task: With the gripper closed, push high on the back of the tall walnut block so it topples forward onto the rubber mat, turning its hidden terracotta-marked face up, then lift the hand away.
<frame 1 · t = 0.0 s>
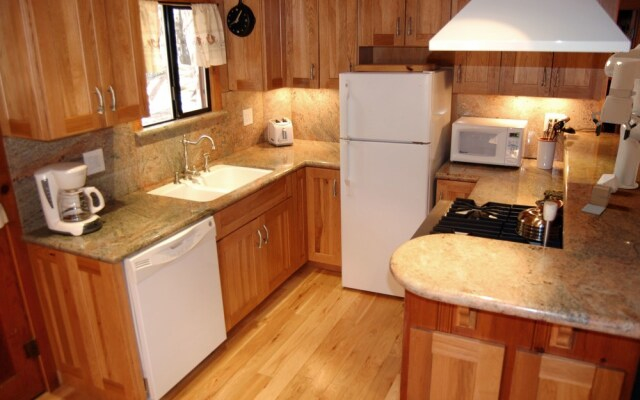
hand: (611, 137, 199), 31 cm above the countertop, tool pointing down, fingers open, 9 cm apart
die: (607, 192, 233), on the countertop
block: (599, 204, 218), on the countertop
mat: (593, 209, 212), on the countertop
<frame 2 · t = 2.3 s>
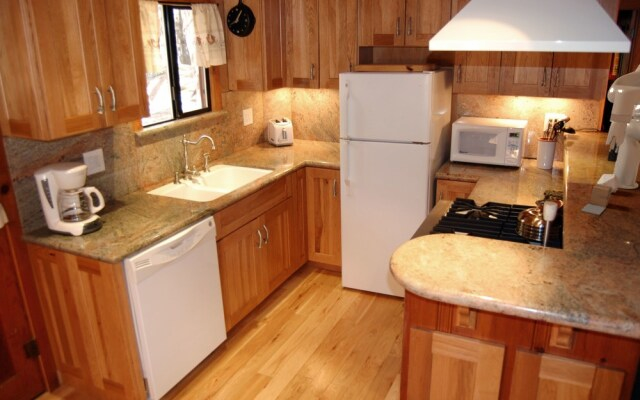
hand: (611, 161, 218), 17 cm above the countertop, tool pointing down, fingers closed
nothing on the countertop moved.
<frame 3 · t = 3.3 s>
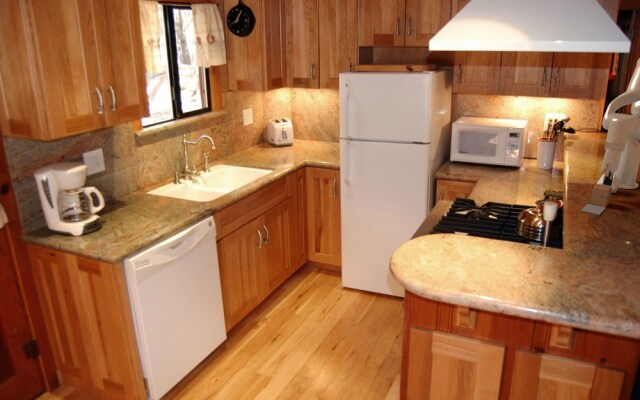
hand: (606, 187, 222), 6 cm above the countertop, tool pointing down, fingers closed
nothing on the countertop moved.
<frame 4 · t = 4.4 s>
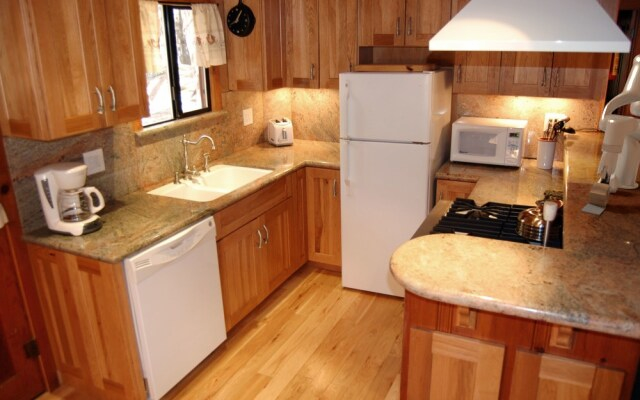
hand: (603, 189, 218), 6 cm above the countertop, tool pointing down, fingers closed
block: (599, 200, 217), point 2 cm above the countertop, tilted 33°
everything else where it was.
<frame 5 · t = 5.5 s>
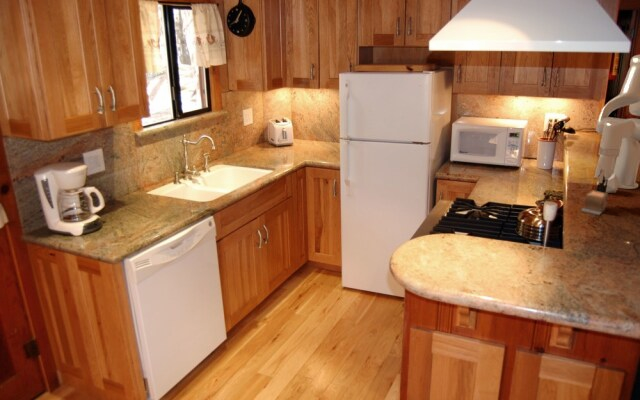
hand: (600, 193, 216), 5 cm above the countertop, tool pointing down, fingers closed
block: (598, 198, 215), point 3 cm above the countertop, tilted 90°, touching mat
everything else where it was.
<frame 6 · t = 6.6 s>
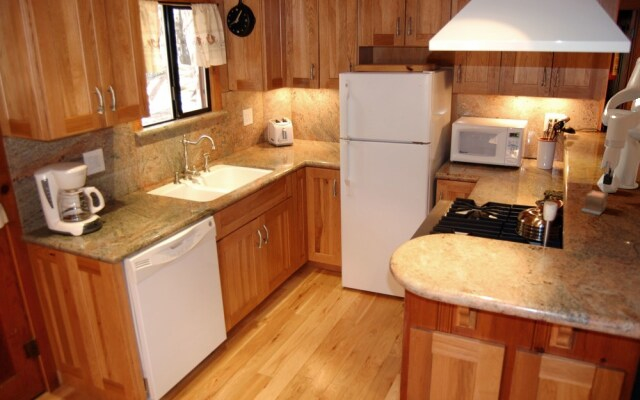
hand: (607, 183, 221), 7 cm above the countertop, tool pointing down, fingers closed
nothing on the countertop moved.
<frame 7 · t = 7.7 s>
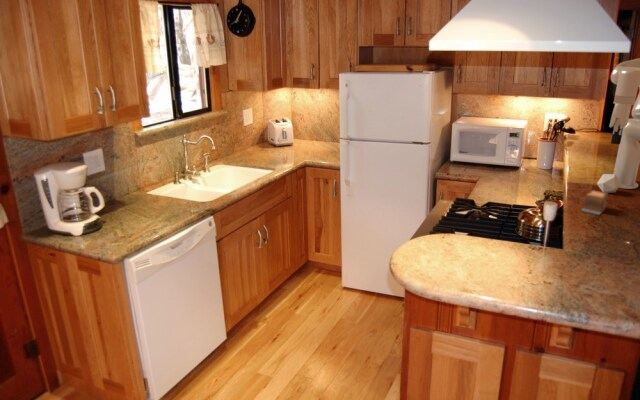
hand: (615, 143, 215), 25 cm above the countertop, tool pointing down, fingers closed
nothing on the countertop moved.
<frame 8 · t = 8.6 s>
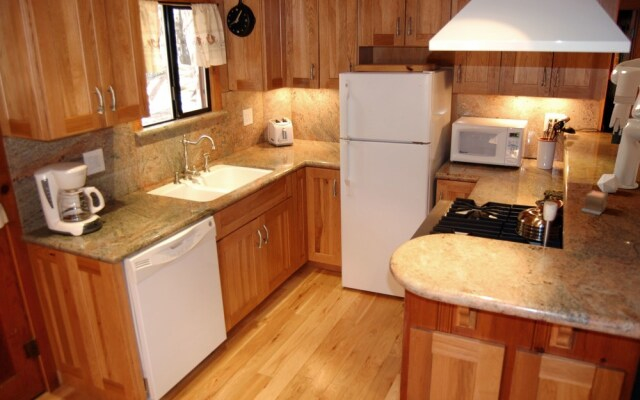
hand: (615, 143, 215), 25 cm above the countertop, tool pointing down, fingers closed
nothing on the countertop moved.
at the end: block tilted 90°; block inside the target area (0.7 cm from its centre), point 3.4 cm above the countertop; block touching mat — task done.
